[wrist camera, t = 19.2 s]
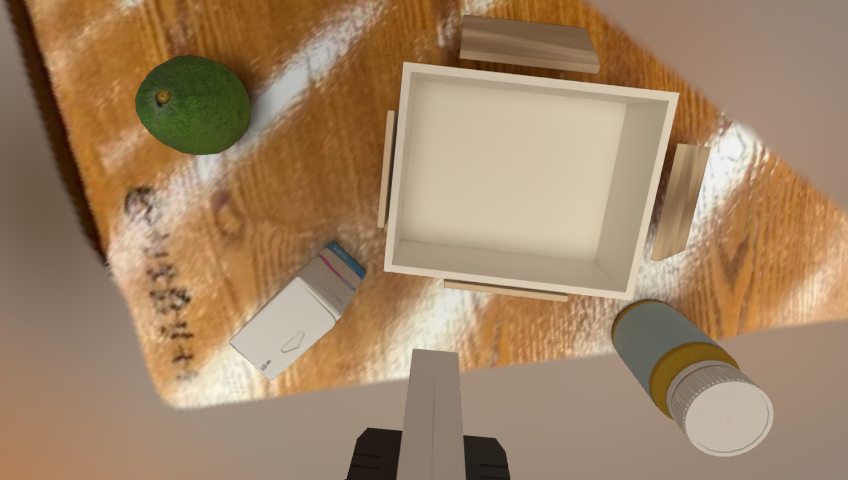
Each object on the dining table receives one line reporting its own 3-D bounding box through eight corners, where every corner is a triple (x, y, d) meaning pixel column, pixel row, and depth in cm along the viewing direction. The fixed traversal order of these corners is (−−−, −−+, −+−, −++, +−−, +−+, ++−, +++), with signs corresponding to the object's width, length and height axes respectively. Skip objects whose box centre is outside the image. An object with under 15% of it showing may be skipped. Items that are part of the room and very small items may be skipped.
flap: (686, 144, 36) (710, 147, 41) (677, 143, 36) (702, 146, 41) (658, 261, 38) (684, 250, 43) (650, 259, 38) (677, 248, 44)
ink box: (332, 236, 48) (297, 274, 37) (368, 272, 49) (345, 319, 38) (274, 292, 50) (224, 345, 39) (310, 326, 51) (271, 387, 39)
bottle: (688, 302, 48) (793, 382, 34) (671, 366, 50) (763, 467, 36) (618, 293, 49) (692, 369, 34) (603, 357, 50) (668, 455, 36)
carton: (402, 71, 44) (391, 60, 36) (632, 97, 44) (679, 93, 35) (385, 250, 48) (372, 279, 40) (595, 275, 48) (629, 310, 39)
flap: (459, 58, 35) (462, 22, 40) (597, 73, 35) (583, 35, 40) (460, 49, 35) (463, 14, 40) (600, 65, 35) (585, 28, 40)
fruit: (277, 141, 46) (221, 148, 35) (198, 159, 47) (118, 173, 35) (252, 54, 44) (184, 32, 33) (171, 74, 45) (76, 60, 34)
